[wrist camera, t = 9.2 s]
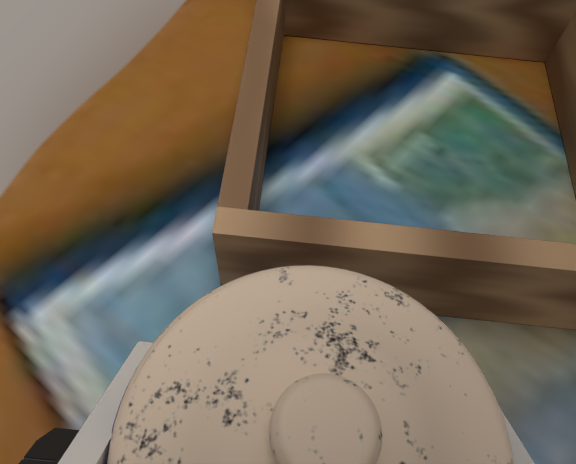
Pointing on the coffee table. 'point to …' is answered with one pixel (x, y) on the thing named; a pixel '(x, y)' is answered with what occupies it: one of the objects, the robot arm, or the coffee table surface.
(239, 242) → the open wooden keepsake box
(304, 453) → the teacup with lid
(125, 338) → the coffee table surface
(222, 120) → the coffee table surface
